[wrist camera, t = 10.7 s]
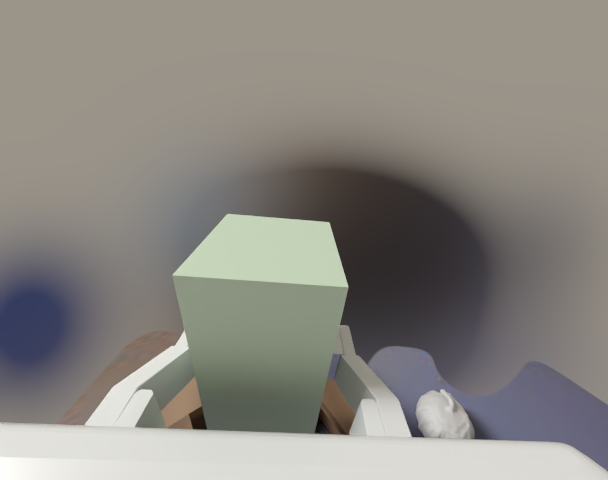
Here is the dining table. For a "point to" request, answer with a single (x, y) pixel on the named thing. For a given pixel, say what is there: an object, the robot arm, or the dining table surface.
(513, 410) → the dining table surface
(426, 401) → the garlic
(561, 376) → the dining table surface
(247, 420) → the green peg
